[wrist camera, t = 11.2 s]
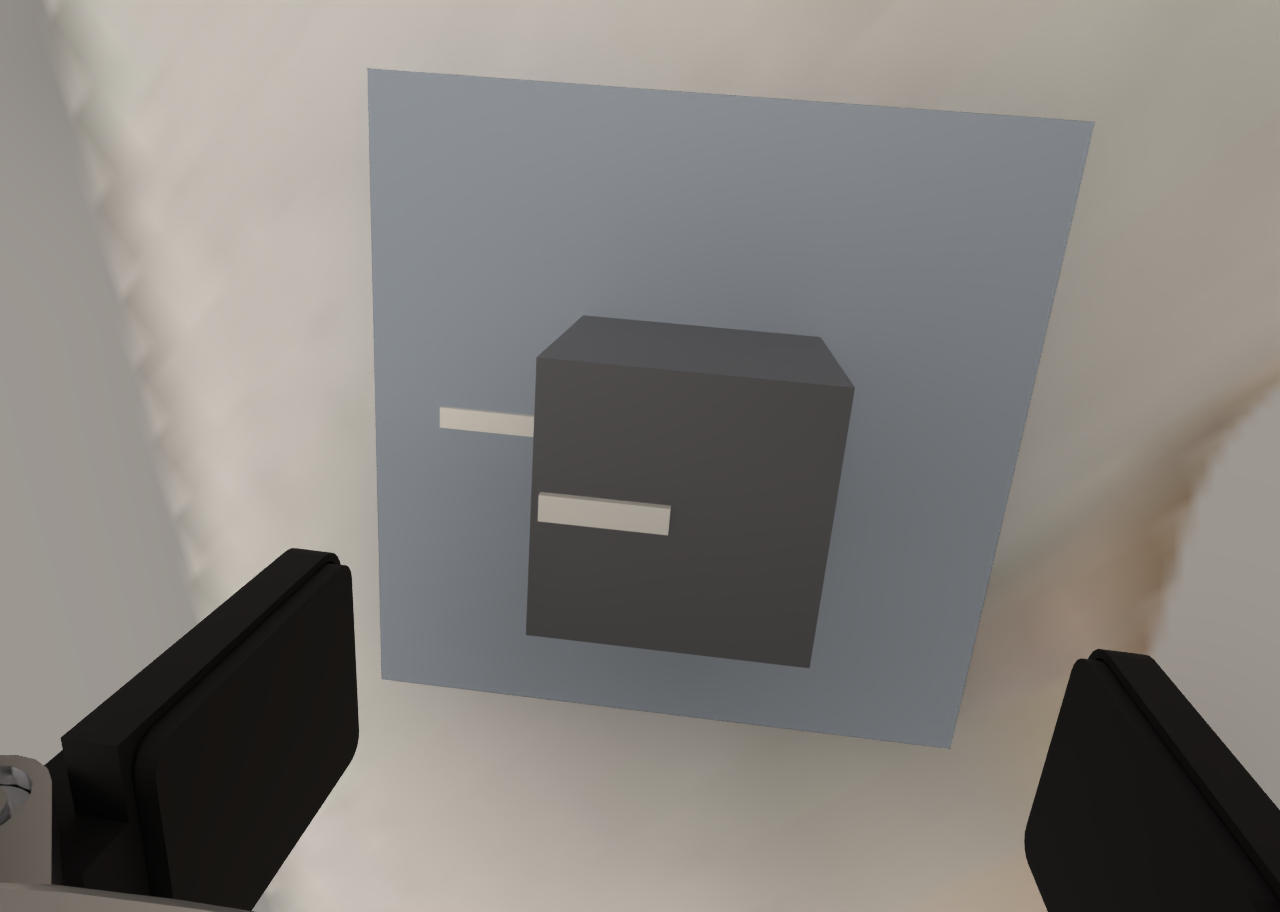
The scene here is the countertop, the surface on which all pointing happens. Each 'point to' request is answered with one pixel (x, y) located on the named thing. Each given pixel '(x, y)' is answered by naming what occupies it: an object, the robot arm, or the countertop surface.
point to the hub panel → (713, 297)
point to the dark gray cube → (684, 488)
